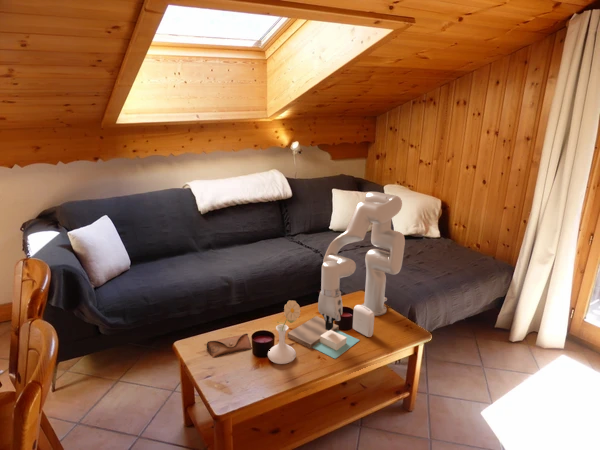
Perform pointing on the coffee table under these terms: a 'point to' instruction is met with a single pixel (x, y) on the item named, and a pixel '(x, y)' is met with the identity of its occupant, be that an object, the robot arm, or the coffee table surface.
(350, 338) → the mat
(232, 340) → the sunglasses case
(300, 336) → the riser
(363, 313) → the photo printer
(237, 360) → the coffee table surface
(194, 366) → the coffee table surface
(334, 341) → the white flat block
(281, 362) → the flower in vase
